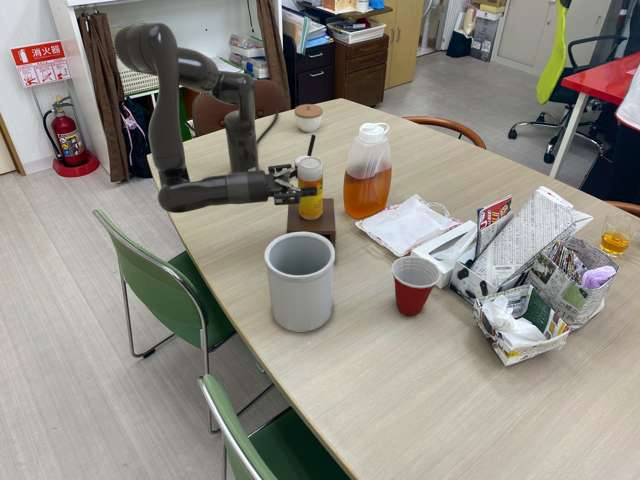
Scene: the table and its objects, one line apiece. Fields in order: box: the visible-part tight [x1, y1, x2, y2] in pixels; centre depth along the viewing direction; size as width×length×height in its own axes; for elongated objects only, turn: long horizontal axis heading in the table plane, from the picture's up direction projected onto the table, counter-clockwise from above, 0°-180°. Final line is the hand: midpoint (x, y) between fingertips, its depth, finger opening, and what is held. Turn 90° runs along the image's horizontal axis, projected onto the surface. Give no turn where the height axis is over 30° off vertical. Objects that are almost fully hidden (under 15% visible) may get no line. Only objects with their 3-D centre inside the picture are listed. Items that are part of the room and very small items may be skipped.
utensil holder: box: [263, 232, 336, 333], centre depth 102 cm, size 15×15×18 cm
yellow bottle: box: [297, 156, 324, 220], centre depth 113 cm, size 6×6×15 cm
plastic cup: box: [391, 255, 442, 317], centre depth 104 cm, size 11×11×12 cm
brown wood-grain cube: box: [286, 197, 337, 251], centre depth 121 cm, size 14×12×11 cm
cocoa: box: [294, 134, 317, 169], centre depth 150 cm, size 10×6×12 cm, turn 119°
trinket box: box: [293, 103, 324, 133], centre depth 176 cm, size 11×11×9 cm
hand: (313, 181), depth 112 cm, fingers open, 8 cm apart
